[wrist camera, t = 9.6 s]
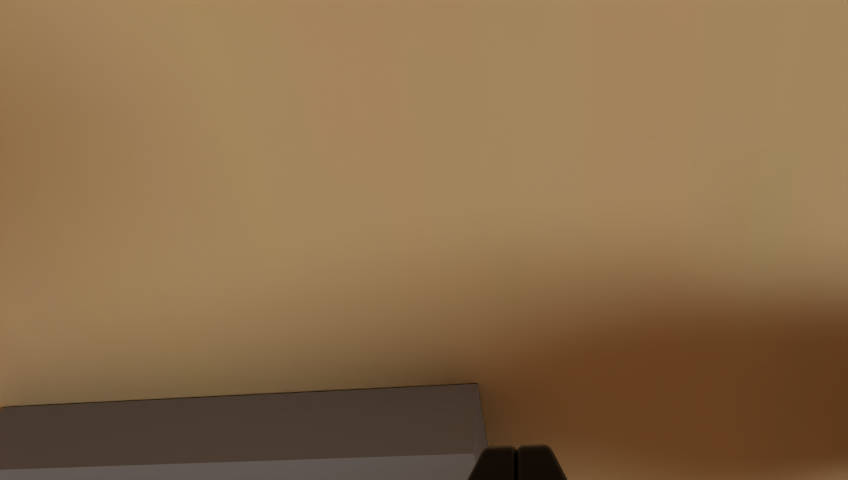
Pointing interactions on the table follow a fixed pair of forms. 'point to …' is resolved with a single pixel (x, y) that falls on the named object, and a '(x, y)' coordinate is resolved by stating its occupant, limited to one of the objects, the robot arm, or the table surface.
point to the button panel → (251, 437)
